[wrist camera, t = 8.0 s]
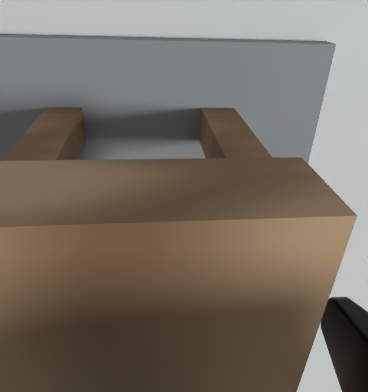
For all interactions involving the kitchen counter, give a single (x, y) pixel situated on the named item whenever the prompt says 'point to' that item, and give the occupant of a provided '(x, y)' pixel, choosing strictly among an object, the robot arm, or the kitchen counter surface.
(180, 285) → the stool
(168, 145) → the gray panel
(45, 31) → the kitchen counter surface
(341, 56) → the kitchen counter surface
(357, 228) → the kitchen counter surface
